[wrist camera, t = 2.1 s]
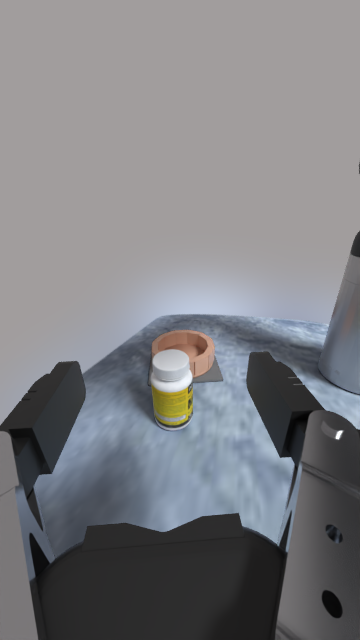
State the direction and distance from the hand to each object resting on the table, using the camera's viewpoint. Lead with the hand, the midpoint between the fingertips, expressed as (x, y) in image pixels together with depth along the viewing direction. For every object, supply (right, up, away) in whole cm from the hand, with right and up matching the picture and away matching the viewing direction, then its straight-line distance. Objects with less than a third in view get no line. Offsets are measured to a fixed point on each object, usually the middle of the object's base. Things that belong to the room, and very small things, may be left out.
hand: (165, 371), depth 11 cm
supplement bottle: (0, -9, +17) cm, 19 cm away
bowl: (+1, -4, +27) cm, 27 cm away
